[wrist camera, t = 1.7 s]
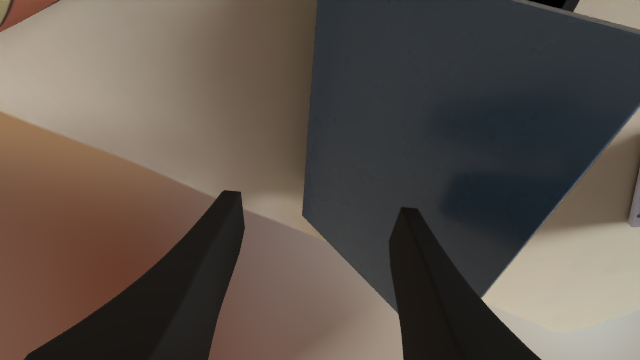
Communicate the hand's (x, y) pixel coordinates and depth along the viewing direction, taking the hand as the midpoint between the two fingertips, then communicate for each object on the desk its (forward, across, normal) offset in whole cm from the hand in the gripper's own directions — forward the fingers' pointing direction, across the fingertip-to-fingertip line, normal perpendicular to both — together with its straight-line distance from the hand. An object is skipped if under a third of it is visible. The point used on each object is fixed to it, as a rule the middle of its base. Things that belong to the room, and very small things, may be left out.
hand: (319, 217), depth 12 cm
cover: (+3, -3, 0) cm, 5 cm away
